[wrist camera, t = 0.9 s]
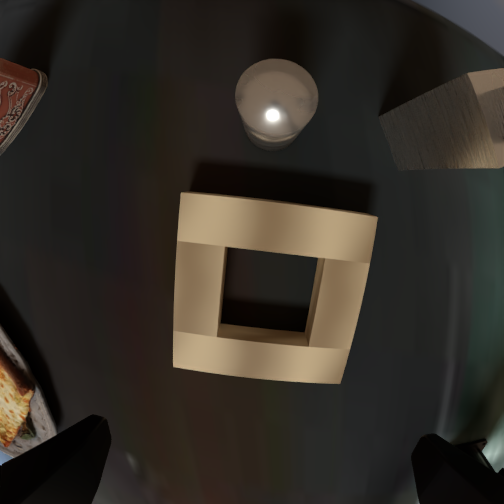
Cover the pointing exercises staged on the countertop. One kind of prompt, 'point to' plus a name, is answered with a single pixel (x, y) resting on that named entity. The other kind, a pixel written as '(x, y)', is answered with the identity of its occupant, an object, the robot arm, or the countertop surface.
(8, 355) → the food plate
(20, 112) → the lighter
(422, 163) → the square bit
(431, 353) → the countertop surface
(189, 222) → the socket block
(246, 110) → the round peg
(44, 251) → the countertop surface
